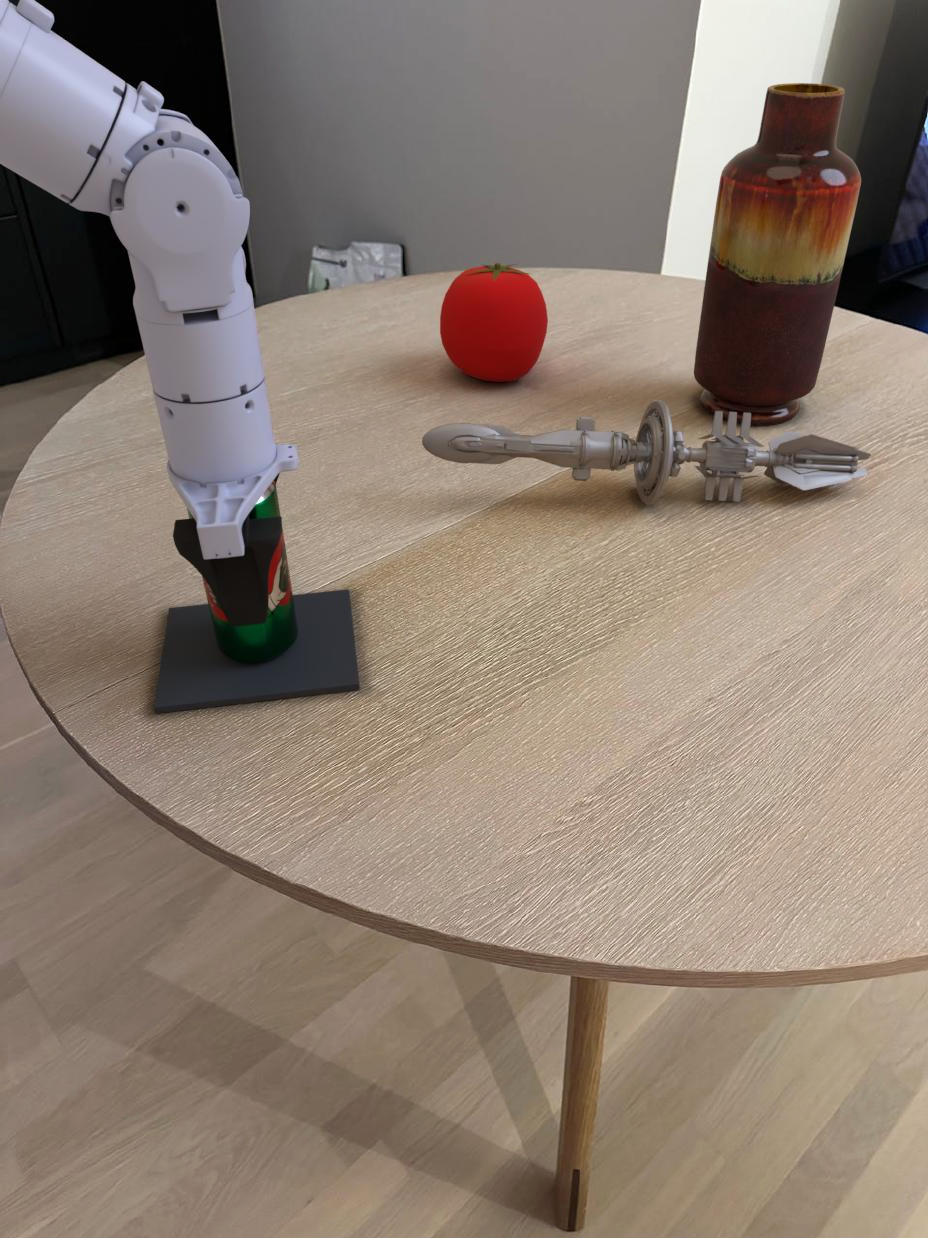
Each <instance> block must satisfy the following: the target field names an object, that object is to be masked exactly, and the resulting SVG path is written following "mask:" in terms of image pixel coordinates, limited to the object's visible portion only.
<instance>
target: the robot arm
mask: <svg viewBox="0 0 928 1238" xmlns="http://www.w3.org/2000/svg"><path fill="white" fill-rule="evenodd" d="M54 23H55V16H54V13H52V11H50V10H49V9H47V8H46V7H45V6H43V5H41V4H40V3H39V2H37V1H36V0H19V1H18V4H17V6H16V5H15V4H13V3H12V2H10V0H0V165H2V166H3V167H5V168H7V169H8V170H10V171H12V172H13V173H15V174H17V175H18V176H20V177H22V178H23V179H26V180H27V181H28V182H30V183H32V184H34V185H36V186H37V187H39V188H40V189H42V190H44V191H46V192H47V193H49V194H51V195H53V196H54V197H56V198H58V199H59V200H61V201H62V202H64V203H65V204H69V206H71V207H73V208H75V209H76V210H78V211H80V212H92V213H100V214H102V215H105V216H108V217H109V220H110V223H111V225H112V227H113V230H114V232H115V234H116V236H117V237H118V239H119V241H120V242H121V245H123V246H124V247H125V249H126V250H127V254H128V259H129V263H130V267H131V272H132V276H133V281H134V286H135V288H134V293H133V297H132V305H133V309H134V314H135V318H136V323H137V327H138V331H139V334H140V335H139V336H140V339H141V343H142V344H141V345H142V348H143V353H144V356H145V361H146V365H147V369H148V374H149V379H150V383H151V387H152V392H153V397H154V400H155V406H156V409H157V414H158V418H159V423H160V427H161V431H162V436H163V440H164V445H165V450H166V453H167V458H168V459H167V461H166V471H167V474H168V480H169V481H170V483H171V485H172V486H173V489H175V491H176V492H177V494H178V495H179V498H180V499H181V500H182V502H183V503H184V505H185V507H186V509H187V508H188V510H189V511H190V513H191V514H192V516H193V517H194V518H191V519H189V518H182V519H175V520H174V525H173V532H172V538H173V543H174V546H175V548H176V550H177V552H178V554H179V555H180V556H181V557H182V558H184V559H185V560H186V561H187V562H189V563H190V564H191V565H192V566H193V567H194V568H195V570H197V572H198V573H199V574H200V575H201V577H202V576H203V578H204V579H205V580H206V582H207V583H208V585H209V587H210V589H211V590H212V592H213V594H214V596H215V598H216V600H217V602H218V604H219V606H220V608H221V610H222V612H223V614H224V615H225V617H226V619H227V620H228V622H229V623H230V625H231V626H232V627H236V626H245V625H254V624H264V623H265V622H266V620H267V615H268V605H269V572H270V566H271V561H272V558H273V555H274V553H275V551H276V549H277V546H278V544H279V541H280V537H281V533H282V528H283V517H282V515H281V516H280V517H269V518H259V519H249V513H250V511H251V510H252V509H253V507H254V506H255V505H256V503H257V502H258V501H259V499H260V498H261V496H262V495H263V494H264V492H265V491H266V490H267V488H268V487H269V486H270V484H271V483H272V481H273V480H274V482H275V484H276V485H277V482H278V480H279V477H280V475H281V473H284V472H285V473H286V472H292V471H295V470H297V469H298V468H299V466H300V459H299V451H298V446H297V445H296V444H292V443H285V444H279V443H276V441H275V436H274V434H275V433H274V430H273V429H274V428H273V422H272V415H271V408H270V403H269V396H268V395H269V394H268V389H267V383H266V376H265V367H264V362H263V356H262V348H261V342H260V336H259V329H258V322H257V317H256V310H255V306H254V305H255V303H254V297H253V295H254V294H253V290H252V287H251V285H250V284H249V283H248V282H247V277H246V270H247V269H246V268H247V262H246V255H245V251H244V249H243V247H242V245H243V243H244V241H245V239H246V236H247V234H248V231H249V225H250V217H251V205H250V204H251V203H250V200H249V199H248V198H247V197H244V193H243V189H242V186H241V181H240V179H239V177H238V176H237V175H236V172H235V170H234V168H233V167H232V165H231V164H230V162H229V161H228V160H227V159H226V157H225V156H224V155H223V153H222V152H221V151H220V150H219V148H218V147H217V146H216V145H215V144H214V142H213V141H212V140H211V139H210V138H209V136H207V134H205V133H204V132H203V131H202V130H201V129H199V128H198V127H196V126H195V125H194V124H193V122H192V121H191V119H190V118H189V117H188V115H186V114H184V113H181V112H180V111H175V110H171V109H166V108H165V109H164V108H162V107H163V105H164V102H165V98H164V96H163V94H162V93H161V92H160V91H158V90H157V89H156V88H154V87H152V86H151V85H150V84H149V83H147V82H146V81H142V80H141V82H140V83H139V84H138V86H137V89H136V88H135V87H133V86H132V85H130V84H129V83H127V82H126V81H125V80H123V79H122V78H121V77H119V76H118V75H116V74H115V73H113V72H112V71H110V69H108V68H106V67H105V66H103V65H102V64H100V63H99V62H97V61H96V60H95V59H93V58H92V57H90V56H89V55H88V54H86V53H85V52H83V51H82V50H80V49H79V48H77V47H76V46H74V45H73V44H72V43H70V42H69V41H67V40H65V38H63V37H61V36H60V35H58V34H57V33H56V32H54V31H53V30H51V29H52V27H53V25H54Z"/></svg>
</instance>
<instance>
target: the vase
mask: <svg viewBox="0 0 928 1238" xmlns="http://www.w3.org/2000/svg"><path fill="white" fill-rule="evenodd" d="M845 93H846V90H845V88H843V87H842V86H838V85H832V84H823V83H811V82H810V83H808V82H804V83H803V82H794V83H793V82H792V83H778V84H774V85H769V86H768V87H767V88H766V93H765V98H764V103H763V109H762V115H761V121H760V127H759V133H758V137H757V140H756V142H755V144H754V145H752V146H749V147H747V148H745V149H743V150H742V151H740V152H737V154H735V155H734V156H733V157H732V158H731V159H730V160H729V161H728V162H727V163H726V164H725V166H724V167H723V169H722V171H721V174H720V177H719V184H718V191H717V194H716V195H717V197H716V201H715V209H714V217H713V224H712V230H711V237H710V238H711V239H710V244H709V252H708V258H707V259H708V260H707V267H706V275H705V281H704V287H703V296H702V302H701V310H700V316H699V317H700V318H699V325H698V332H697V333H698V334H697V340H696V348H695V355H694V356H695V357H694V367H693V376H694V379H695V381H696V383H698V385H699V386H700V387H701V388H703V389H704V390H703V391H702V392H701V395H700V397H699V404H700V406H701V408H702V409H703V410H704V411H705V412H706V413H708V414H709V415H711V416H713V417H714V415H715V411H723V418H722V421H725V422H728V416H729V412H737V421H736V424H739V425H741V423H742V418H743V413H751V423H750V426H774V425H780V424H783V423H786V422H789V421H791V420H792V419H794V418H795V417H796V416H797V415H798V414H799V411H800V401H799V399H802V398H803V397H805V396H807V395H809V394H810V393H811V392H812V391H813V390H814V388H815V387H816V383H817V380H818V376H819V372H820V369H821V365H822V362H823V356H824V351H825V348H826V343H827V339H828V334H829V330H830V325H831V322H832V317H833V312H834V309H835V305H836V300H837V295H838V291H839V286H840V282H841V277H842V273H843V268H844V264H845V259H846V256H847V251H848V246H849V241H850V237H851V232H852V228H853V224H854V219H855V213H856V210H857V205H858V201H859V200H858V199H859V195H860V189H861V186H862V176H861V172H860V170H859V168H858V166H857V164H856V163H855V161H854V160H853V159H852V157H850V156H849V155H848V154H846V153H845V152H844V151H842V150H840V149H839V148H838V147H837V138H838V133H839V132H838V131H839V126H840V121H841V117H842V116H841V115H842V111H843V110H842V109H843V104H844V100H845Z"/></svg>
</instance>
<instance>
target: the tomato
mask: <svg viewBox="0 0 928 1238" xmlns="http://www.w3.org/2000/svg"><path fill="white" fill-rule="evenodd" d="M520 264H522V263H521V262H520V263H519V265H520ZM516 265H518V263H514V264H513V263H512V264H506V265H501V263H500V262H496V263H494V264H483V265H480V266H475V267H471V268H468V269H465V270H464V271H462V272H461V273H460V274H458V275H457V276H456V277H455V278H454V279H453V281H452V282H451V284H450V285H449V287H448V288H447V290H446V291H445V294H444V297H443V300H442V304H441V308H440V314H439V315H440V316H439V334H440V339H441V344H442V346H443V349H444V351H445V354H446V355H447V357H448V359H449V360H450V362H451V363H452V364H453V366H454V367H455V368H457V369H458V370H459V371H461V372H462V373H464V374H465V375H468V376H470V377H473V378H476V379H479V380H483V381H487V382H494V383H495V382H496V383H497V382H498V383H499V382H500V383H501V382H502V383H503V382H512V381H516V380H519V379H522V378H523V377H525V376H526V375H527V374H528V373H530V372H531V370H533V368H534V366H535V365H536V363H537V362H538V360H539V358H540V356H541V353H542V350H543V347H544V344H545V341H546V337H547V333H548V324H549V323H548V322H549V318H548V309H547V303H546V300H545V297H544V295H543V291H542V289H541V287H540V286H539V284H538V281H536V280H535V279H534V278H532V276H531V275H530V273H528V272H525V271H522V270H520V269H517V268H514V267H513V266H516Z"/></svg>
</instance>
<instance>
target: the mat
mask: <svg viewBox="0 0 928 1238" xmlns="http://www.w3.org/2000/svg"><path fill="white" fill-rule="evenodd" d="M293 600H294V606H295V613H296V620H297V626H298V636H297V638H296V640H295V642H294V643H293V645H292V646H291V647H290V648H289V649H288V650H287V651H286V652H285V653H284V654H283V655H281V656H279V657H278V658H275V659H273V660H270V661H267V662H263V663H253V664H251V663H242V662H239V661H236V660H234V659H231V658H230V657H228V656H226V655H225V654H223V653H222V652H221V651H220V649H219V648H218V645H217V642H216V637H215V633H214V628H213V624H212V619H211V615H210V610H209V606H208V603H205V604H194V605H186V606H185V605H184V606H174V607H169V608H168V611H167V619H166V623H165V625H166V626H165V632H164V638H163V644H162V652H161V656H160V658H161V659H160V663H159V670H158V676H157V683H156V689H155V695H154V701H153V711H154V713H155V714H162V713H164V714H165V713H173V712H180V711H188V710H197V709H206V708H214V707H223V706H230V705H238V704H239V705H240V704H248V703H257V702H265V701H274V700H283V699H291V698H298V697H307V696H308V697H309V696H315V695H316V696H317V695H324V694H334V693H342V692H343V693H344V692H351V691H359V690H360V689H361V687H360V686H361V685H360V677H359V668H358V659H357V658H358V657H357V651H356V649H357V648H356V640H355V633H354V632H355V631H354V624H353V613H352V605H351V595H350V589H348V588H347V589H337V590H329V591H319V592H318V591H317V592H309V593H300V594H299V593H298V594H293Z"/></svg>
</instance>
